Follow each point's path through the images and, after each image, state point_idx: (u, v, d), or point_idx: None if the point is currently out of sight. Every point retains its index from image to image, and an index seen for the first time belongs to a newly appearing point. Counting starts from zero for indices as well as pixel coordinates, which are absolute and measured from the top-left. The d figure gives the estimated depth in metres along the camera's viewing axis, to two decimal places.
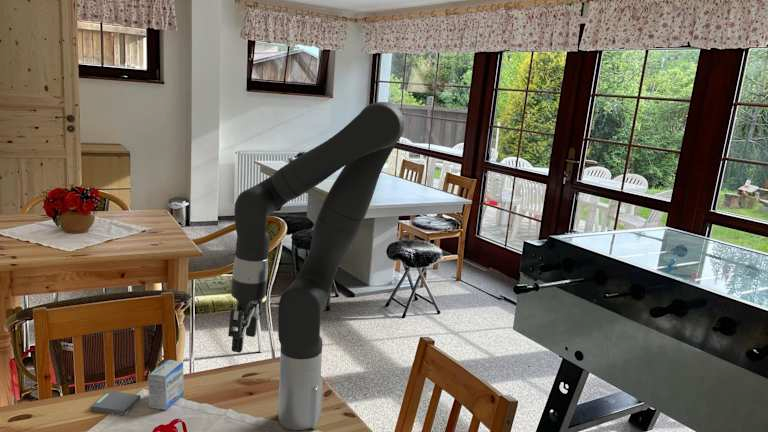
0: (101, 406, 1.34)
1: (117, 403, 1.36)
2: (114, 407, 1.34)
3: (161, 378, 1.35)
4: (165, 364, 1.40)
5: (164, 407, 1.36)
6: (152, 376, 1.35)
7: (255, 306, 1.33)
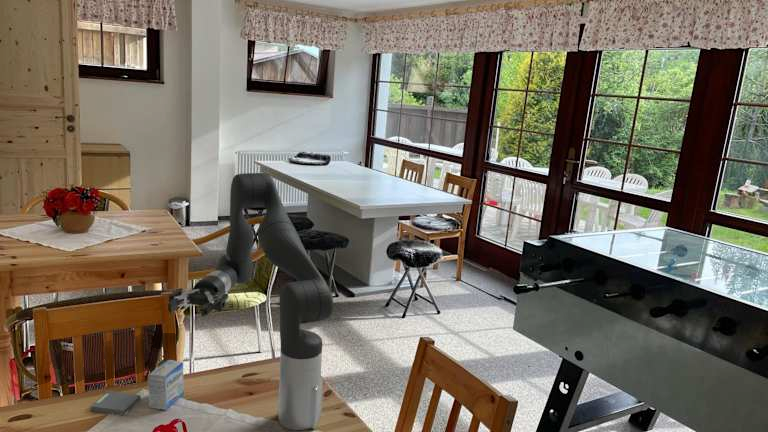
0: (101, 406, 1.34)
1: (117, 403, 1.36)
2: (114, 407, 1.34)
3: (161, 378, 1.35)
4: (165, 364, 1.40)
5: (164, 407, 1.36)
6: (152, 376, 1.35)
7: None
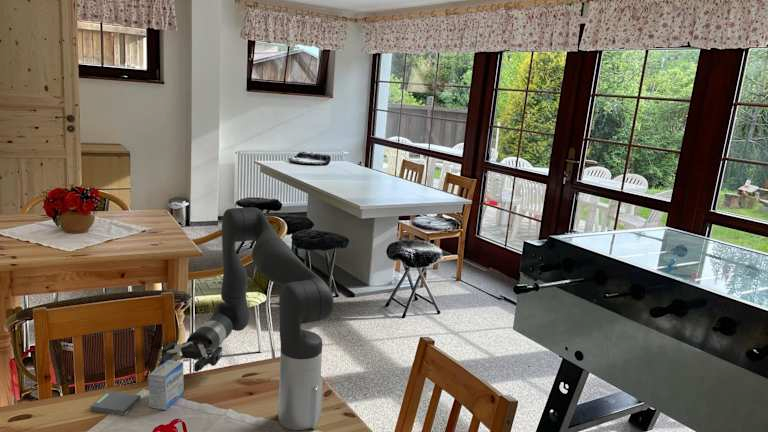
0: (101, 406, 1.34)
1: (117, 403, 1.36)
2: (114, 407, 1.34)
3: (161, 378, 1.35)
4: (165, 364, 1.40)
5: (164, 407, 1.36)
6: (152, 376, 1.35)
7: None
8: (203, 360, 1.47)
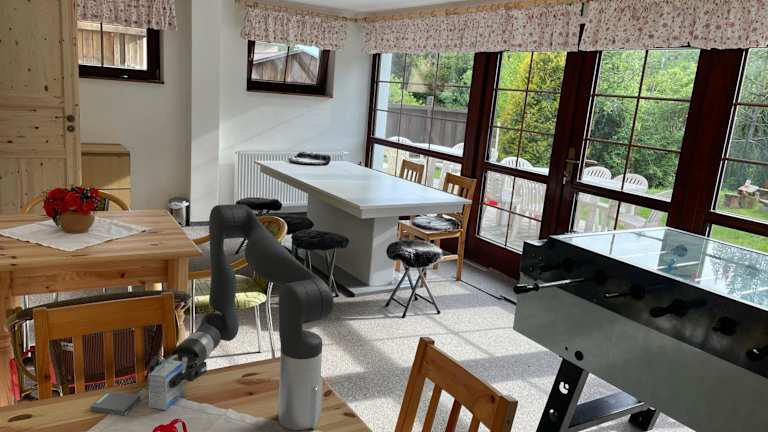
0: (101, 406, 1.34)
1: (117, 403, 1.36)
2: (114, 407, 1.34)
3: (161, 377, 1.35)
4: (165, 364, 1.40)
5: (164, 406, 1.36)
6: (152, 376, 1.35)
7: None
8: (180, 376, 1.39)
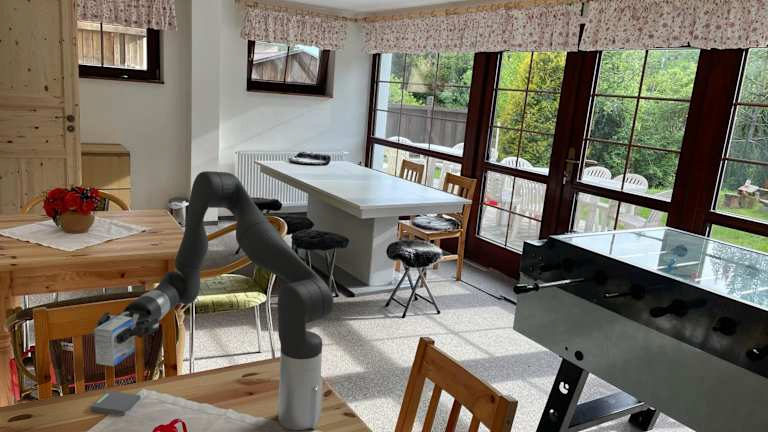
0: (101, 406, 1.34)
1: (117, 403, 1.36)
2: (114, 407, 1.34)
3: (107, 332, 1.29)
4: (114, 319, 1.35)
5: (111, 362, 1.31)
6: (98, 330, 1.30)
7: None
8: (128, 331, 1.33)
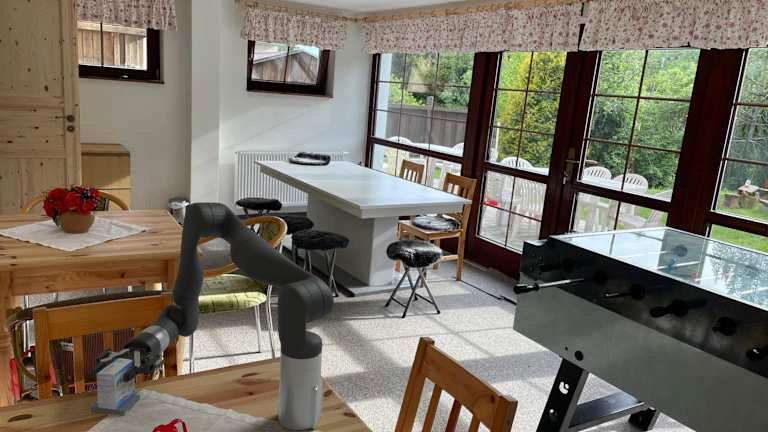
0: None
1: None
2: None
3: (110, 376, 1.31)
4: (115, 362, 1.37)
5: (113, 406, 1.33)
6: (101, 375, 1.32)
7: None
8: (135, 369, 1.35)
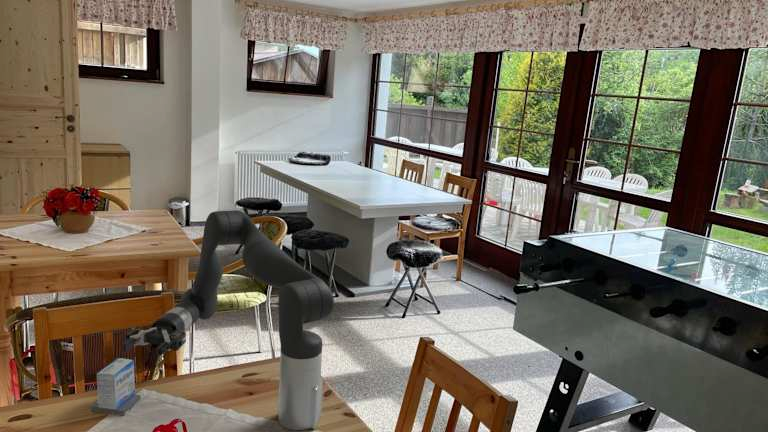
0: None
1: None
2: None
3: (110, 376, 1.31)
4: (115, 362, 1.37)
5: (113, 406, 1.33)
6: (101, 375, 1.32)
7: None
8: (165, 345, 1.48)
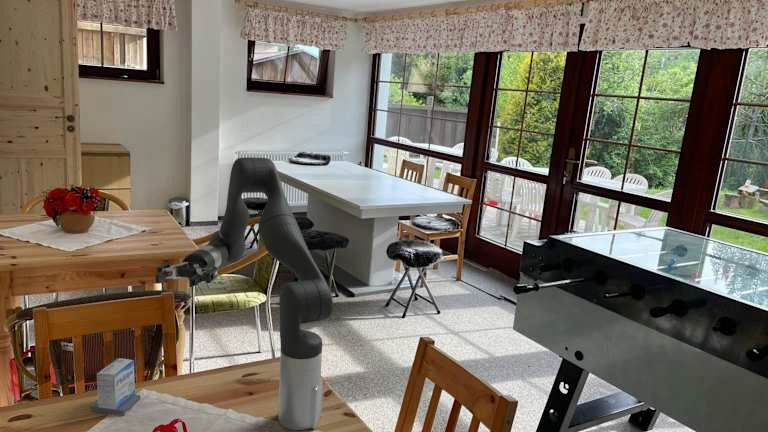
0: None
1: None
2: None
3: (110, 376, 1.31)
4: (115, 362, 1.37)
5: (113, 406, 1.33)
6: (101, 375, 1.32)
7: None
8: (198, 277, 1.47)
